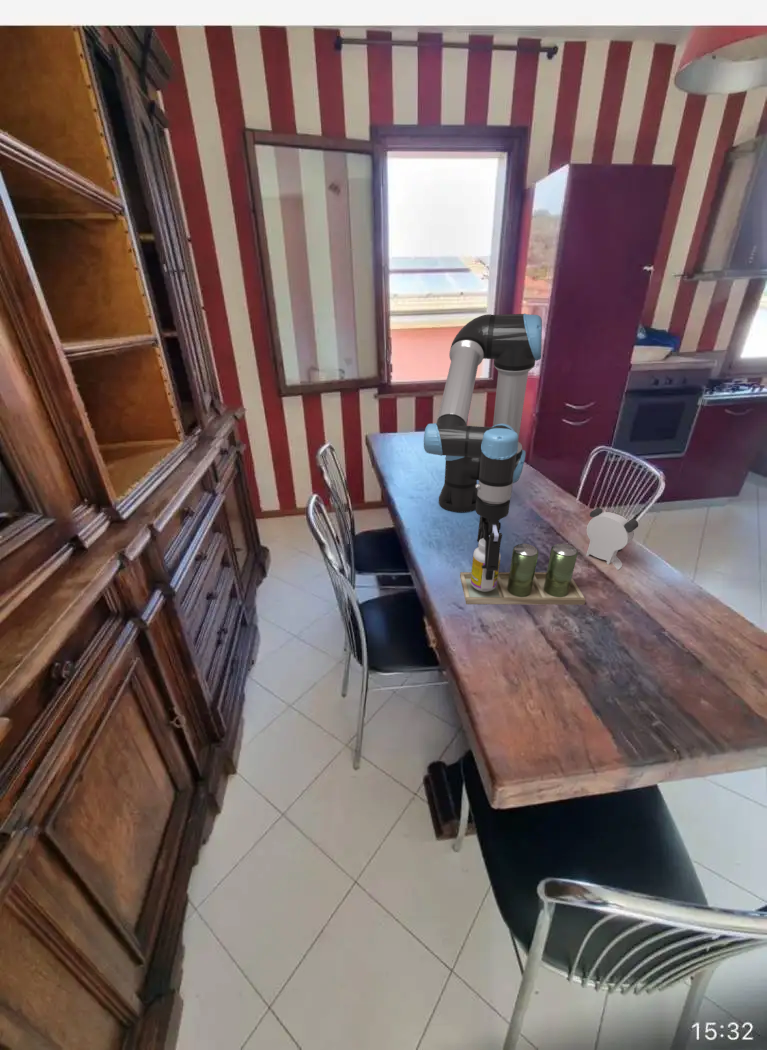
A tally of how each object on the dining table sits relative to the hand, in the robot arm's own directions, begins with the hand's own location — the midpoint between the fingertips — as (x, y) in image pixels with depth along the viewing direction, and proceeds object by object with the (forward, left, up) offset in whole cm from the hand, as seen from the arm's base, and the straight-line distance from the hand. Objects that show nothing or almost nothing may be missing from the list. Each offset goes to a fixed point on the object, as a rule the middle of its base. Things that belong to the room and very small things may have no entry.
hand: (483, 579), depth 107 cm
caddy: (0, +9, -4) cm, 10 cm away
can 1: (0, +9, -3) cm, 10 cm away
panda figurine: (-15, +37, -5) cm, 40 cm away
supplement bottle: (0, 0, -2) cm, 2 cm away
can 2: (0, +19, -3) cm, 19 cm away
